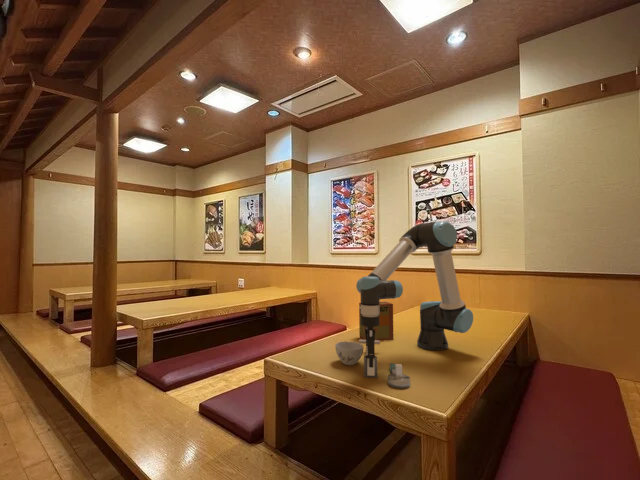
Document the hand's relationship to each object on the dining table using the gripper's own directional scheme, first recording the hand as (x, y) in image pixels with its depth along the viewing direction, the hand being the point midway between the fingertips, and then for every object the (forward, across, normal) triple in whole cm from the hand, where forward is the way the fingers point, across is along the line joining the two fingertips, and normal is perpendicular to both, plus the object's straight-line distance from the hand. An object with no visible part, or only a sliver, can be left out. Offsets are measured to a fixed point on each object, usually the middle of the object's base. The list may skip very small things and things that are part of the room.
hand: (370, 368), depth 127 cm
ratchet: (+2, +2, +10) cm, 11 cm away
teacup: (+3, -14, -8) cm, 16 cm away
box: (+2, -54, +6) cm, 55 cm away
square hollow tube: (+2, 0, 0) cm, 3 cm away
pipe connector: (+2, -29, +1) cm, 29 cm away
